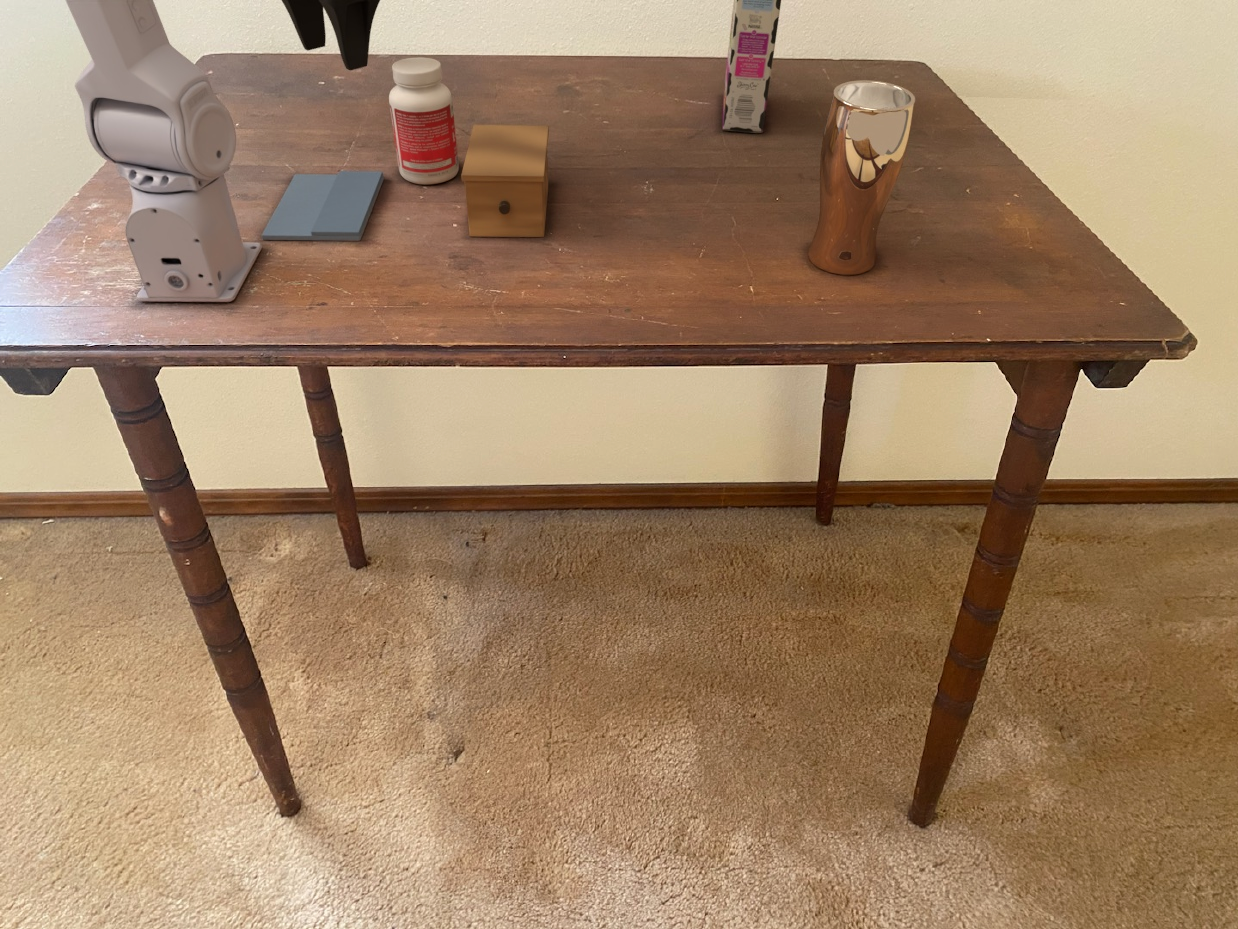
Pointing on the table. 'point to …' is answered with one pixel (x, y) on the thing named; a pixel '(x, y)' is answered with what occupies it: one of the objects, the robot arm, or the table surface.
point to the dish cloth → (325, 207)
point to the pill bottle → (423, 122)
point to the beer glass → (859, 171)
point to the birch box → (506, 180)
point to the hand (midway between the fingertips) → (335, 57)
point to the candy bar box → (749, 64)
